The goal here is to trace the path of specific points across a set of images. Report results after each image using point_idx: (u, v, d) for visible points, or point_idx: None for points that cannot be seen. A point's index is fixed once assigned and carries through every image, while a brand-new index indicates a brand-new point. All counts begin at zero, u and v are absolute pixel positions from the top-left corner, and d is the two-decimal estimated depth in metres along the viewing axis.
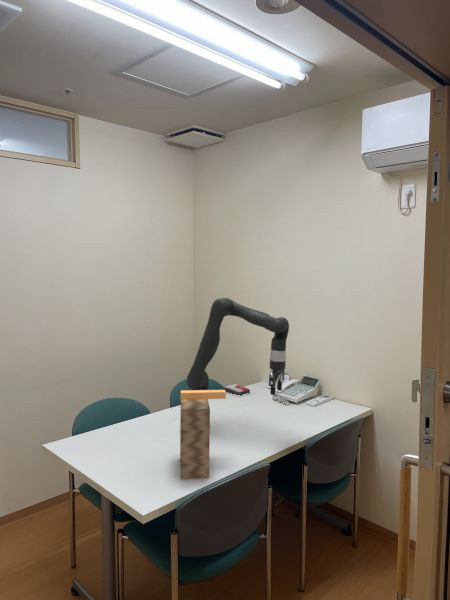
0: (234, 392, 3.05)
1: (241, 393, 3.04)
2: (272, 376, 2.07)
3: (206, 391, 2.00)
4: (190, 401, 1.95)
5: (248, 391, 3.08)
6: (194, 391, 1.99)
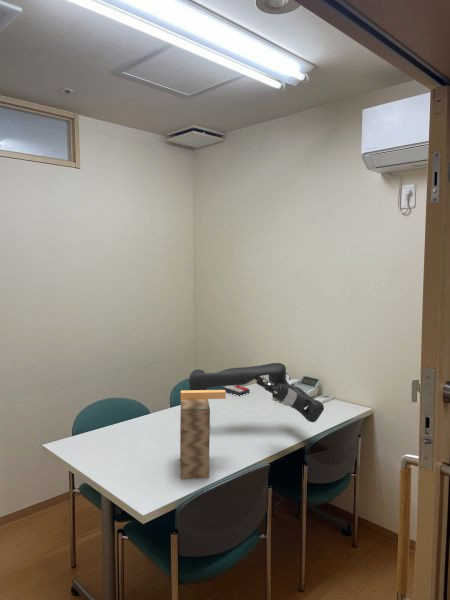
0: (234, 392, 3.05)
1: (241, 393, 3.04)
2: (275, 393, 2.02)
3: (206, 391, 2.00)
4: (190, 401, 1.95)
5: (248, 391, 3.09)
6: (194, 391, 1.99)
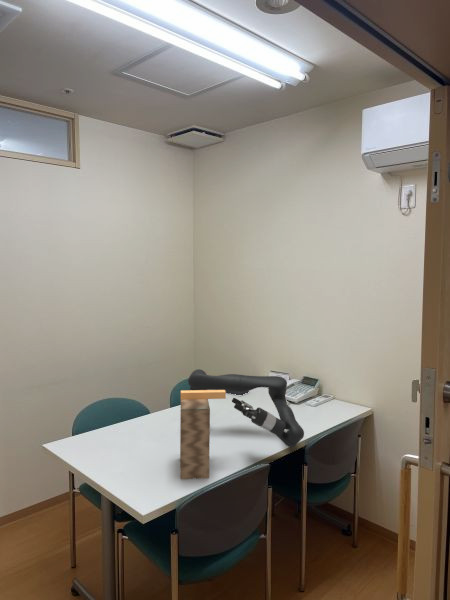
0: (235, 392, 3.05)
1: (242, 393, 3.04)
2: (253, 418, 1.96)
3: (206, 391, 2.00)
4: (190, 401, 1.95)
5: None
6: (194, 391, 1.99)
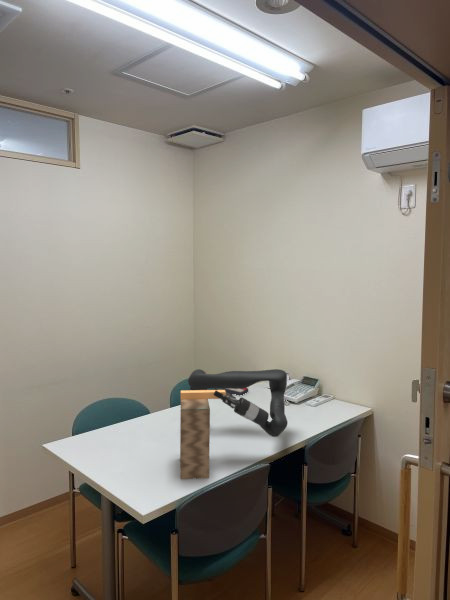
0: (235, 392, 3.05)
1: (242, 393, 3.05)
2: (231, 405, 1.95)
3: (206, 391, 2.00)
4: (190, 401, 1.95)
5: (247, 390, 3.10)
6: (194, 391, 1.99)
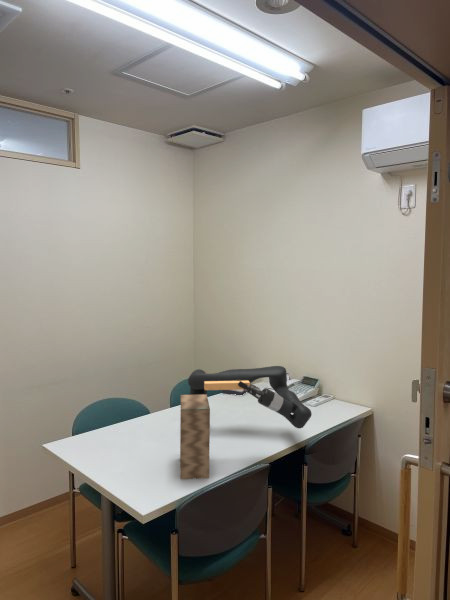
0: (236, 392, 3.04)
1: (243, 392, 3.05)
2: (256, 396, 1.93)
3: (230, 382, 1.97)
4: (190, 401, 1.95)
5: None
6: (218, 382, 1.97)
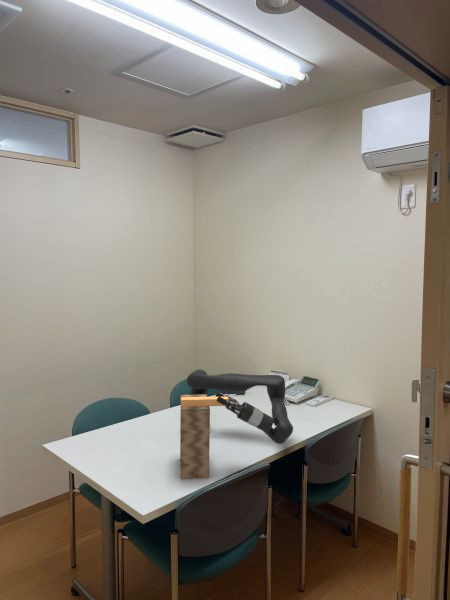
0: (237, 392, 3.04)
1: (243, 392, 3.06)
2: (236, 412, 1.85)
3: (208, 398, 1.90)
4: None
5: None
6: (195, 398, 1.89)
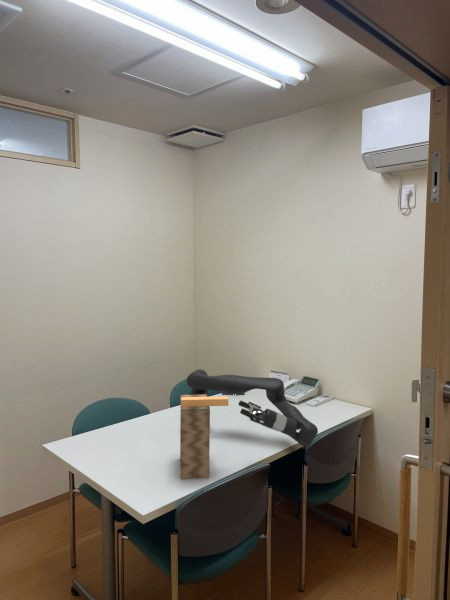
0: None
1: None
2: (261, 422, 1.86)
3: (208, 398, 1.90)
4: None
5: None
6: (195, 398, 1.89)
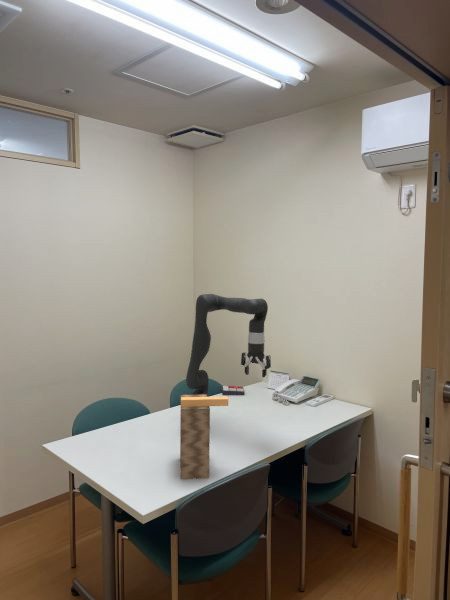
0: (238, 392, 3.04)
1: None
2: (269, 357, 2.05)
3: (208, 398, 1.90)
4: None
5: (243, 389, 3.14)
6: (195, 398, 1.89)
